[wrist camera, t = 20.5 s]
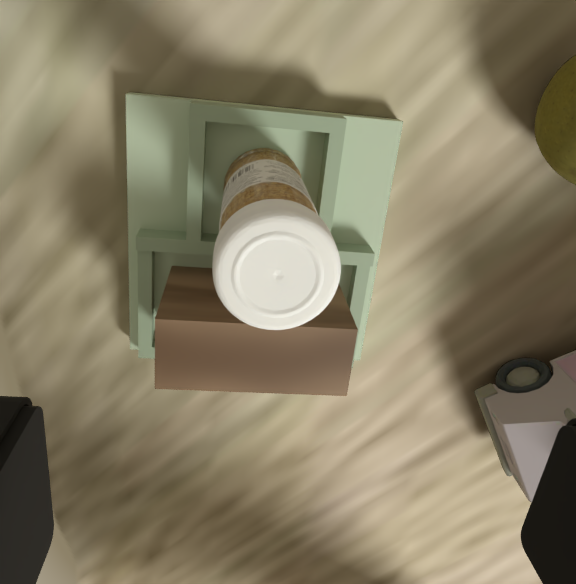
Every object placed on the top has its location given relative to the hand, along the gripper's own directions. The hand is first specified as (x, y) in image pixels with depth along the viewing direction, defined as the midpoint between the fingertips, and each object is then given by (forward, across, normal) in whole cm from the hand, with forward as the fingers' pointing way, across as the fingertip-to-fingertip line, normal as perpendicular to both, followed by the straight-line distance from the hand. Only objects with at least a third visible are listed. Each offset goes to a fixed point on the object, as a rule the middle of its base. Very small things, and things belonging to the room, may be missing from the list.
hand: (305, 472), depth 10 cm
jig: (+24, 0, +4) cm, 25 cm away
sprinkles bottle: (+23, 0, 0) cm, 23 cm away
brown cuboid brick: (+23, 0, +7) cm, 24 cm away
